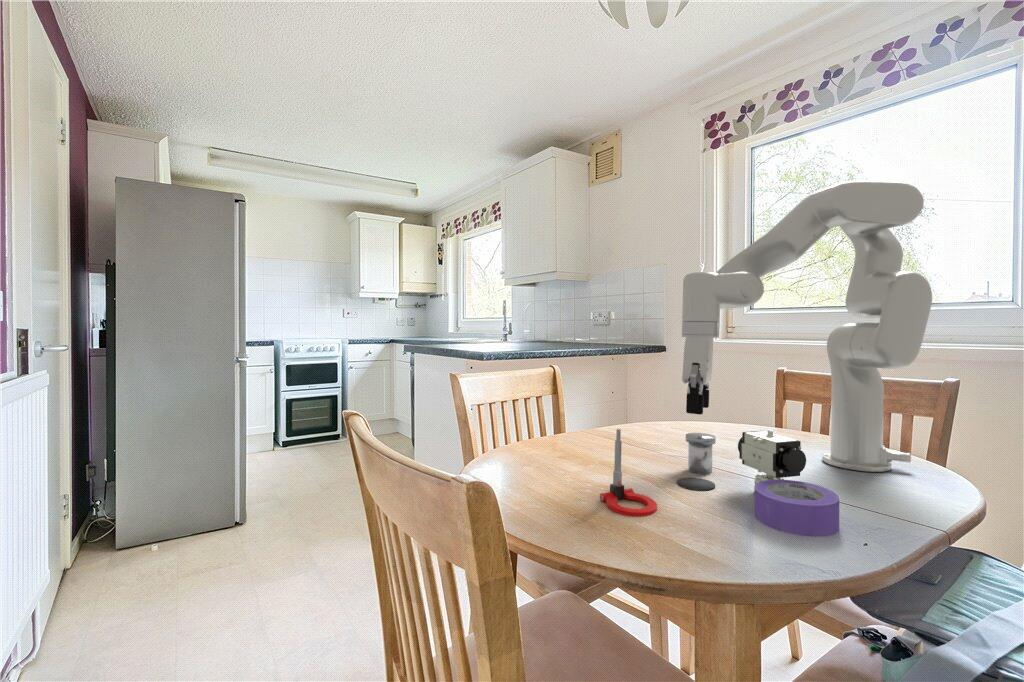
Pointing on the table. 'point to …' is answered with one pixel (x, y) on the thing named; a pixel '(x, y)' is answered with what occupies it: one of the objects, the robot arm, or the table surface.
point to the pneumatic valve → (771, 455)
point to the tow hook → (619, 491)
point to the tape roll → (797, 507)
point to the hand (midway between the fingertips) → (697, 410)
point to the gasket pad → (696, 484)
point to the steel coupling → (700, 452)
